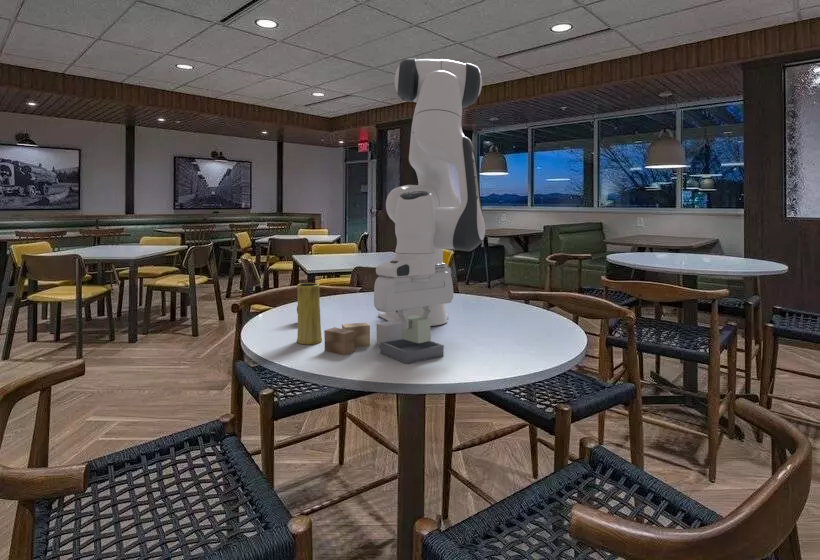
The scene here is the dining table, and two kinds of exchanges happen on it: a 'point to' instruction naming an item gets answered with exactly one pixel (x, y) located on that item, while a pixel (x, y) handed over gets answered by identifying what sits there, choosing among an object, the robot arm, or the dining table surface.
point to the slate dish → (411, 350)
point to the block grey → (389, 331)
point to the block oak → (359, 333)
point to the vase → (308, 314)
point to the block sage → (417, 329)
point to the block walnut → (339, 341)
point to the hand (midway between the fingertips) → (415, 327)
